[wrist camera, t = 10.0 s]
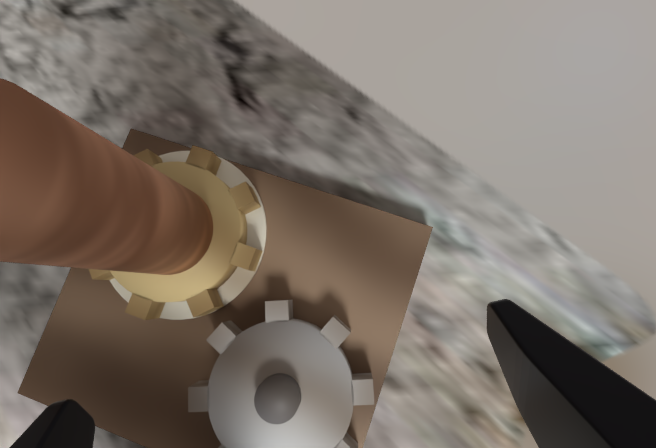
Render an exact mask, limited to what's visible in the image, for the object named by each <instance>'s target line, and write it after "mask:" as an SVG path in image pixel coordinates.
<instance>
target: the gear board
mask: <svg viewBox="0 0 656 448" xmlns="http://www.w3.org/2000/svg"><path fill="white" fill-rule="evenodd" d="M122 149H123V150H125V151H127V152H128V153H130V154H132V155H135V154H137V153H139V152H141V151H144V150H146V149H149V150H150V151H152V152H153V153H155V154H156V155H158V156H159V157H160V158H161V159H162V162H177V161H179V162H186V160H187V158H188V155H189V153H190V150H191V148H189V147H186V146H183V145H180V144H177V143H174V142H171V141H168V140H165V139H162V138H159V137H156V136H153V135H150V134H147V133H143V132H140V131H137V130H134V129H130V132H129V134H128V136H127V139H126V141H125V143H124V146H123V148H122ZM217 157H218V156H217ZM218 158H219V159H220V160H222V161H221V164H220V166H219V169H218V171H217V174H216V176H217V177H218V178H219V179H220V180H222V181H223V182H224V183H225V184H226V185H228V186H229V187H230V188H233V187H235V186H237V185H239V184H241V183H243V182H245V181H246V182H247V183H248V184H249V185H250V186H251V187H252V188H253V190H254V192H255V194H256V196H257V198H258V201H259V203H260V205H261V207H260V208H258V209H256V210H254V211H252V212H250V213H248V214H245V216H246V221H247V242H246V245H248V246H250V247H253V248H256V249H258V250H261V251H263V252H262V255H261V257H260V260H259V263H258V265H257V268H256V271H250V270H246V269H243V268H240V267H237V268H236V270H235V272H234V273H233V274H232V275H231V277H230V278H229V279H228V280H227V281H226V282H225V283H224V284H223V285H222V286H220V287H219V288H218V289H217V291H218V293H219V296H220V298H221V300H222V303H223V305H224V306H223V307H221V308H219V309H217V310H215V311H213V312H211V313H209V314H207V315H205V316H200V317H193V316H192V313H191V311H190V308H189V306H188V304H187V301H182V302H166V303H165V305H164V308H163V310H162V313H161V316H160V318H157V319H149V320H143V319H141V318H138V317H136V316H133V315H130V314H128V313H125V310H126V308H127V305H128V303H129V300H130V298H131V295H132V293H131V292H129V291H128V290H126V289H125V288H124V287H123V286H122V285H121V284H119V282H118V281H117V280H116V279H115V278H113V279H111V280H95V279H92V277H91V274H90V272H89V269H85V268H73V267H71V269H70V272H69V274H68V276H67V279H66V281H65V283H64V286H63V288H62V290H61V293H60V295H59V297H58V300H57V302H56V304H55V307H54V309H53V311H52V314H51V316H50V318H49V321H48V323H47V325H46V328H45V330H44V332H43V335H42V337H41V339H40V342H39V344H38V346H37V349H36V351H35V353H34V356H33V358H32V360H31V363H30V365H29V367H28V370H27V372H26V374H25V377H24V379H23V381H22V384H21V386H20V388H19V391H18V393H19V394H21V395H24V396H26V397H28V398H31V399H33V400H35V401H38V402H40V403H42V404H45V405H47V406H49V405H50V404H52V403H54V402H57V401H62V400H66V399H74V400H75V401H77V402H78V403H79V404H80V405H81V406H82V407H83V408H84V409H85V410H86V411H87V412H88V413H89V414H90V415H91V416H92V417H93V419H94V422H95V426H97V427H99V428H102V429H104V430H106V431H109V432H111V433H114V434H116V435H118V436H121V437H123V438H125V439H128V440H130V441H132V442H135V443H137V444H140V445H142V446H144V447H147V448H363V444H364V441H365V438H366V435H367V432H368V429H369V426H370V423H371V419H372V416H373V413H374V410H375V407H376V404H377V401H378V397H379V394H380V391H381V388H382V385H383V382H384V379H385V375H386V372H387V369H388V366H389V363H390V360H391V357H392V354H393V350H394V347H395V344H396V341H397V338H398V335H399V332H400V328H401V325H402V322H403V319H404V316H405V313H406V310H407V306H408V303H409V300H410V297H411V294H412V291H413V288H414V285H415V281H416V278H417V275H418V272H419V269H420V266H421V263H422V259H423V256H424V253H425V250H426V247H427V244H428V241H429V237H430V234H431V231H432V228H433V227H430V226H427V225H424V224H421V223H418V222H415V221H412V220H409V219H406V218H403V217H400V216H397V215H394V214H391V213H388V212H385V211H382V210H378V209H375V208H372V207H369V206H366V205H363V204H360V203H357V202H354V201H351V200H348V199H345V198H342V197H339V196H336V195H333V194H330V193H327V192H324V191H320V190H317V189H314V188H311V187H308V186H305V185H302V184H299V183H296V182H293V181H290V180H287V179H284V178H281V177H278V176H275V175H272V174H269V173H266V172H263V171H259V170H256V169H253V168H250V167H247V166H244V165H241V164H238V163H235V162H232V161H229V160H226V159H223V158H220V157H218Z"/></svg>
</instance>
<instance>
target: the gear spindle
mask: <svg viewBox="0 0 656 448" xmlns="http://www.w3.org/2000/svg"><path fill="white" fill-rule="evenodd" d="M221 161H222V160H220V159H219V158H218V157H217V156H216V155H215V154H214V153H213V152H212V151H209V150H206V149H203V148H200V147H197V146H194V145H192V148H191V150H190V153H189V155H188V158H187V160H186V162H179V161H177V162H162V159H161V158H160V157H159V156H158V155H156V154H155V153H153V152H152V151H150V150H149V149H146V150H144V151H141V152H139V153H137V154H135V155H132V154H130V153H128V152H127V151H125V150H123V149H122V148H120V147H118V146H117V145H115V144H113V143H112V142H110V141H108V140H107V139H105V138H104V137H102V136H100V135H99V134H97V133H95V132H94V131H92V130H90V129H89V128H87V127H85V126H84V125H82V124H80V123H79V122H77V121H76V120H74V119H72V118H71V117H69V116H67V115H66V114H64V113H62V112H61V111H59V110H57V109H56V108H54V107H52V106H51V105H49V104H48V103H46V102H44V101H43V100H41V99H39V98H38V97H36V96H34V95H33V94H31V93H29V92H28V91H26V90H24V89H23V88H21V87H19V86H18V85H16V84H14V83H12V82H9V81H7V80H4V79H0V261H1V262H13V263H25V264H37V265H49V266H61V267H73V268H85V269H89V272H90V274H91V277H92V279H95V280H111V279H113V278H115V279H116V280H117V281H118V282H119V284H121V285H122V286H123V287H124V288H125V289H126V290H128V291H129V292H131V293H132V295H131V298H130V300H129V303H128V305H127V308H126V310H125V313H128V314H130V315H133V316H136V317H138V318H141V319H143V320H149V319H157V318H160V316H161V313H162V310H163V308H164V305H165V303H166V302H182V301H187V304H188V306H189V308H190V311H191V313H192V316H193V317H200V316H205V315H207V314H209V313H211V312H213V311H215V310H217V309H219V308H221V307H223V306H224V305H223V303H222V300H221V298H220V296H219V293H218V291H217V289H218V288H219V287H220V286H222V285H223V284H224V283H225V282H226V281H227V280H228V279H229V278H230V277H231V275H232V274H233V273H234V272H235V270H236V268H237V267H240V268H243V269H246V270H250V271H256V268H257V265H258V263H259V260H260V257H261V255H262V252H263V251H261V250H258V249H256V248H253V247H250V246H248V245H246V242H247V221H246V216H245V214H248V213H250V212H252V211H254V210H256V209H258V208H260V207H261V205H260V203H259V201H258V198H257V196H256V194H255V192H254V190H253V188H252V187H251V186H250V185H249V184H248V183H247V182H246V181H245V182H243V183H241V184H239V185H237V186H235V187H233V188H230V187H229V186H228V185H226V184H225V183H224V182H223V181H222V180H220V179H219V178H218V177H217V176H216V174H217V171H218V169H219V166H220V164H221Z"/></svg>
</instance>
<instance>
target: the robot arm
mask: <svg viewBox="0 0 656 448" xmlns="http://www.w3.org/2000/svg"><path fill="white" fill-rule="evenodd" d="M487 333H488V336H489V339H490V342H491V344H492V347H493V349H494V352H495V354H496V356H497V359H498V361H499V364H500V366H501V369H502V371H503V374H504V376H505V378H506V381H507V383H508V386H509V388H510V391H511V393H512V396H513V398H514V400H515V403H516V405H517V407H518V409H519V411H520V413H521V415H522V417H523V419H524V421H525V423H526V425H527V426H528V428H529V430H530V432H531V434H532V436H533V437H534V439H535V441H536V443H537V445H538V447H539V448H656V400H655V399H653V398H652V397H650V396H649V395H647V394H646V393H645V392H643V391H642V390H640V389H639V388H637V387H636V386H634V385H633V384H631V383H630V382H628V381H627V380H625V379H624V378H623V377H621V376H620V375H618V374H617V373H615V372H614V371H613V370H611V369H610V368H608V367H607V366H605V365H604V364H602V363H601V362H599V361H598V360H597V359H595V358H594V357H592V356H591V355H589V354H588V353H586V352H585V351H583V350H582V349H581V348H579V347H578V346H576V345H575V344H573V343H572V342H570V341H569V340H567V339H566V338H565V337H563V336H562V335H560V334H559V333H557V332H556V331H554V330H553V329H552V328H550V327H549V326H547V325H546V324H544V323H543V322H541V321H540V320H538V319H537V318H536V317H534V316H533V315H531V314H530V313H528V312H527V311H525V310H524V309H522V308H521V307H520V306H518V305H517V304H515V303H514V302H512V301H511V300H508V299H502V300H498V301H494V302H490V303H489V304H488V306H487ZM94 433H95V422H94V419H93V417H92V416H91V415H90V414H89V413H88V412H87V411H86V410H85V409H84V408H83V407H82V406H81V405H80V404H79V403H78V402H77V401H75V400H74V399H66V400H62V401H57V402H54V403H52V404H50V405H49V406H48V407H47V408H46V409H45V410H44V411H43V412H42V413H41V415H40V416H39V417H38V418H37V419H36V420H35V421H34V422H33V423H32V424H31V425H30V426H29V427H28V428H27V430H26V431H25V432H24V433H23V434H22V435H21V436H20V437H19V438H18V439H17V440H16V441H15V442H14V444H13V445H12V446H11V447H10V448H93V441H94Z"/></svg>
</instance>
